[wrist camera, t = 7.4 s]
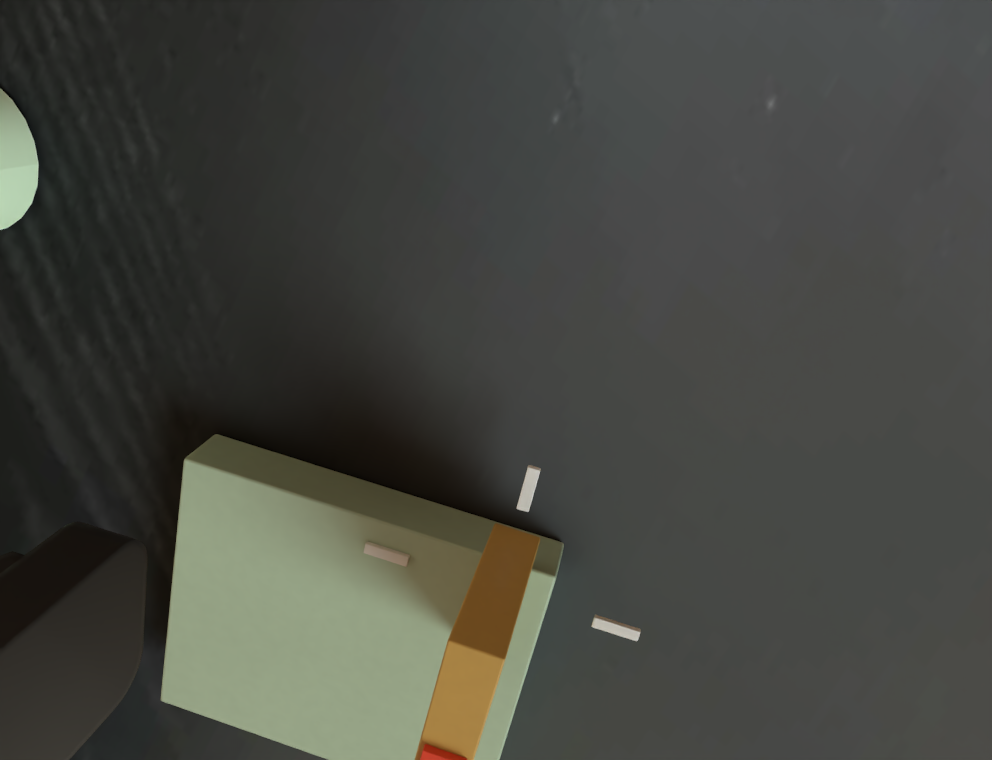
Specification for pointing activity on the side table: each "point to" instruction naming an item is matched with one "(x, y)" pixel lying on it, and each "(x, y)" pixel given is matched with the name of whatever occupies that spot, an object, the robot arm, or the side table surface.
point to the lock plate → (330, 604)
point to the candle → (15, 163)
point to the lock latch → (478, 647)
